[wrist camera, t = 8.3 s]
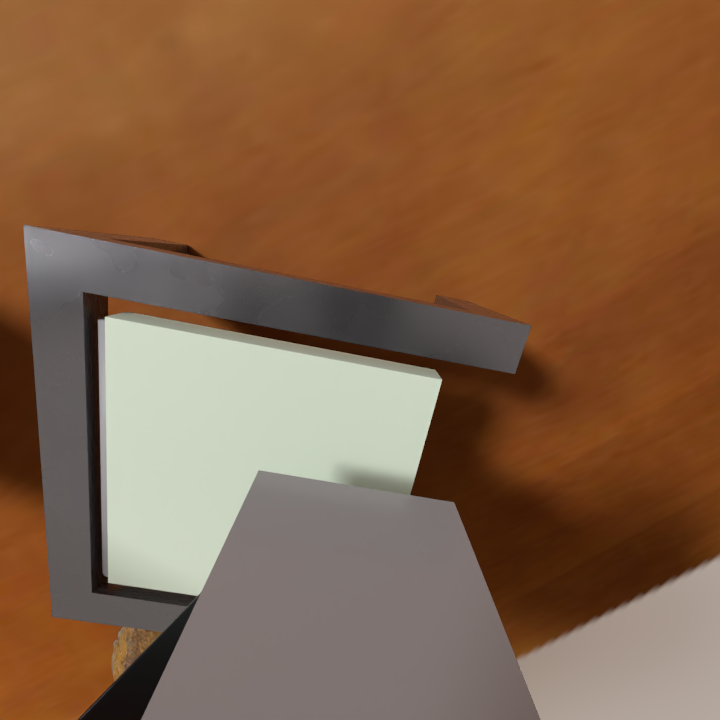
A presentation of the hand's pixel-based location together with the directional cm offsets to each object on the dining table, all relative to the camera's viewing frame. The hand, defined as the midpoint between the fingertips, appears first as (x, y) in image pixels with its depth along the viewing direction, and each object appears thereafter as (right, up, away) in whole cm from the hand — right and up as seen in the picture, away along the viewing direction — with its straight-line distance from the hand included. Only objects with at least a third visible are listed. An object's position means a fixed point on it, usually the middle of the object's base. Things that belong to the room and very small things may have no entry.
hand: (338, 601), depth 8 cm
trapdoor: (-3, +2, +4) cm, 5 cm away
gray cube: (0, 0, +1) cm, 1 cm away
